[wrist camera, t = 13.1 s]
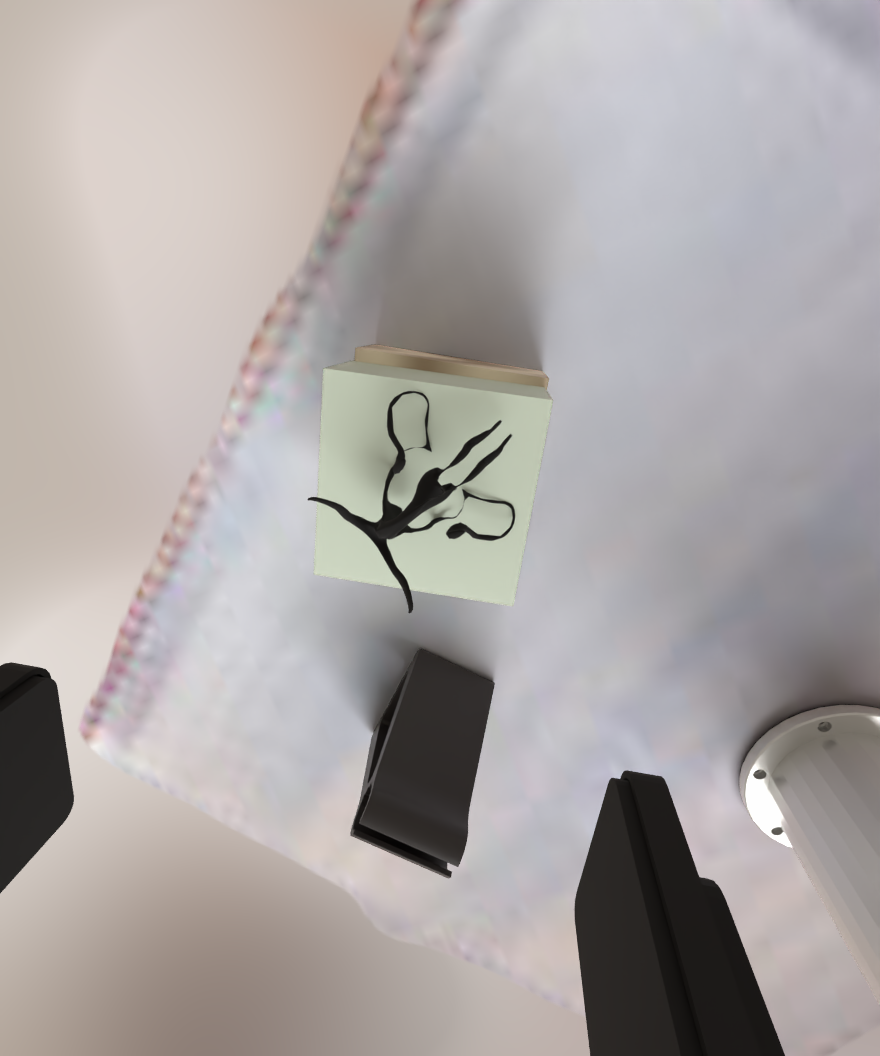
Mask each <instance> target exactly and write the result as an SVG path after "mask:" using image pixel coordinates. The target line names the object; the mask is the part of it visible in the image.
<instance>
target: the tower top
mask: <svg viewBox="0 0 880 1056" xmlns="http://www.w3.org/2000/svg"><path fill="white" fill-rule="evenodd" d="M406 391H417V392H420V393H423V394H424V395H425V396H426V397H427V398H428V400H429V417H428V428H427V432H428V437H429V442H430V447H431V450H432V452H430V451H428V450H426V449H424V448H417V447H423V446H425V445H426V430H425V417H426V412H427V408H428V404H427V401H426V400H425V398H424V397H423V396H421V395H419V394H416V393H411V394H405V395H402V396H401V398H400V399H399V400H398V401H397V402H396V403H395V405H394V406H393V407H392V413H393V428H394V433H395V435H396V437H397V439H398V441H399V442H400V444H401V446H402V447H403V449H404V450H407V449H409V448H412V449H410V450H407V451H404V452H405V460H406V463H405V466H404V468H403V470H401V471H400V473H398V474H394V477H393V478H392V480H391V482H390V485H389V488H388V500H389V502H390V503H392V504H395V505H397V506H399V507H400V508H402V511H404V510H405V508H406V507H407V506H408V505H409V503H410V502H411V501H412V499H413V497H414V495H415V493H416V489H417V485H418V483H419V481H420V479H421V477H422V476H423V475H424V474H425V473H426V472H427V471H429V470H431V469H433V468H436V467H439V468H440V469H445V468H446V467H447V466H449V465H450V463H451V462H452V461H453V460H454V459H455V457H456V456H457V455H458V453H459V452H460V451H461V450H462V448H463V446H464V444H465V443H466V442H467V441H468V440H470V439H471V438H473V437H475V436H477V435H479V434H481V433H482V432H484V431H486V430H490V429H491V428H492V427H493V426H494V424H495V423H497V422H498V421H499V420H501V421H502V422H501V424H500V425H499V426H498V427H497V428H496V429H495V430H494V431H493V432H492V433H491V434H490V435H489V436H488V437H486V438H485V439H484V440H483V441H481V442H480V443H479V444H477V445H476V446H474V447H473V448H472V449H471V451H470V453H469V454H468V455H467V456H466V457H465V458H464V459H463V460H462V461H461V462H459V463H458V464H457V465H455V466H453V467H451V468H449V469H447V470H445V471H444V472H443V473H442V474H441V475H440V476H439V479H438V482H439V483H440V484H441V485H445V484H448V483H452V484H453V485H455V486H457V485H459V484H460V483H462V482H463V481H464V479H465V478H466V477H467V476H468V475H469V474H470V473H471V471H472V470H473V469H474V468H475V467H476V465H477V464H478V462H479V461H481V460H482V459H483V458H484V457H486V456H487V455H488V454H490V453H491V452H493V451H494V450H496V449H497V448H498V447H499V446H500V445H501V443H502V442H503V441H504V440H505V439H506V438H507V437H508V436H509V435H510V434H511V435H512V437H511V438H510V440H509V441H508V442H507V444H506V445H505V446H504V448H503V450H502V452H501V453H500V455H499V456H498V457H496V458H495V459H494V460H493V461H492V462H491V463H490V464H489V465H487V466H486V467H485V468H484V470H483V471H482V472H481V473H480V474H478V475H477V476H476V477H475V478H474V479H473V480H472V481H469V482H467V483H465V484H463V485H461V486H458V487H457V489H456V490H454V491H453V492H452V493H451V494H450V496H449V497H448V498H447V499H446V500H444V501H443V502H442V503H440V504H438V505H436V506H434V507H432V508H430V509H428V510H427V511H425V512H423V513H422V514H420V515H419V516H418V517H417V518H415V519H414V520H413V521H412V522H410V523H409V524H408V526H410V527H411V528H421V527H424V526H426V525H428V524H429V523H430V522H431V520H433V519H435V518H439V517H455V516H457V515H458V513H459V512H460V510H461V509H462V508H463V509H462V511H461V512H460V514H459V515H458V516H457V517H456V518H454V519H445V520H442V521H440V522H438V523H436V524H434V525H433V526H432V528H430V529H428V530H424V531H420V532H413V533H403V534H401V535H399V536H397V537H396V538H393V539H390V540H388V539H387V545H388V548H389V550H390V552H391V555H392V557H393V560H394V562H395V564H396V566H397V568H398V569H399V570H400V571H401V572H402V574H403V575H404V576H405V578H406V580H407V582H408V585H409V588H410V590H413V591H419V592H426V593H432V594H438V595H444V596H451V597H457V598H463V599H469V600H476V601H482V602H488V603H494V604H501V605H507V606H513V605H514V600H515V595H516V589H517V584H518V579H519V574H520V569H521V564H522V559H523V553H524V548H525V543H526V538H527V533H528V528H529V522H530V517H531V512H532V507H533V502H534V497H535V492H536V486H537V481H538V476H539V471H540V466H541V461H542V455H543V450H544V445H545V440H546V435H547V430H548V424H549V419H550V414H551V409H552V404H553V399H552V398H551V396H550V395H549V393H548V392H547V390H546V388H545V387H539V386H532V385H525V384H517V383H510V382H503V381H496V380H489V379H481V378H474V377H467V376H460V375H452V374H445V373H438V372H431V371H423V370H416V369H409V368H402V367H394V366H387V365H380V364H373V363H366V362H358V361H349V362H345V363H341V364H337V365H334V366H330V367H326V368H323V385H322V406H321V428H320V449H319V471H318V493H317V497H318V498H322V499H326V500H330V501H333V502H336V503H338V504H340V505H342V506H344V507H345V508H346V509H347V510H348V511H349V512H350V513H352V514H354V515H357V516H360V517H362V518H364V519H366V520H368V521H371V522H377V521H379V520H380V519H381V518H382V515H383V511H382V500H383V493H384V488H385V481H386V479H387V476H388V473H389V471H390V469H391V467H393V465H394V463H395V462H396V457H397V454H398V451H397V449H396V447H395V446H394V444H393V442H392V441H391V439H390V437H389V436H388V430H387V411H388V408H389V404H390V402H391V401H392V400H393V399H394V397H396V396H397V395H399V394H401V393H403V392H406ZM413 447H415V448H413ZM462 489H464V490H465V491H467V492H468V493H470V494H472V495H475V496H477V497H479V498H482V499H489V500H497V501H506V502H508V503H510V504H512V505H513V507H514V509H515V522H514V525H513V528H512V529H511V530H510V532H509V533H508V534H507V535H506V536H504V537H503V538H500V539H498V540H494V541H487V540H479V539H474V538H472V537H471V536H470V535H469V534H468V533H467V532H465V533H464V534H463V535H462V536H460V537H459V538H456V539H449V538H448V537H447V535H446V532H447V530H448V529H449V528H450V527H451V526H452V525H454V524H456V523H460V522H461V523H463V524H465V525H467V526H468V527H469V528H471V529H472V530H473V531H474V532H476V533H477V534H484V535H494V536H501V535H502V534H503V533H504V532H505V531H506V530H507V529H508V528H509V527H510V526H511V522H512V519H513V517H512V510H511V508H510V507H509V506H507V505H506V504H496V503H489V502H486V501H482V500H478V499H475V498H471V497H468V498H467V499H466V500H465V501H464V495H463V491H462ZM463 505H464V506H463ZM314 575H319V576H325V577H332V578H338V579H344V580H351V581H357V582H363V583H369V584H376V585H382V586H388V587H394V588H401V589H402V587H401V585H400V584H399V582H398V581H397V579H396V578H395V576H394V575H393V574H392V572H391V571H390V569H389V567H388V565H387V564H386V562H385V560H384V558H383V556H382V555H381V553H380V551H379V550H378V548H377V547H376V545H375V544H374V543H373V541H372V540H371V539H370V538H369V537H368V536H367V535H366V534H365V533H364V532H363V531H361V530H360V529H359V528H357V527H356V526H354V525H353V524H351V523H350V522H348V521H346V520H345V519H343V517H342V516H341V515H340V514H339V513H338V512H337V511H336V510H335V509H333V508H331V507H329V506H327V505H325V504H322V503H320V502H317V514H316V536H315V557H314Z"/></svg>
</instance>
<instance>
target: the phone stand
mask: <svg viewBox="0 0 880 1056" xmlns="http://www.w3.org/2000/svg"><path fill="white" fill-rule="evenodd" d="M494 684H495V683H494V682H492V681H490V680H487V679H485V678H483V677H481V676H479V675H477V674H474V673H472V672H470V671H468V670H466V669H464V668H461V667H459V666H457V665H455V664H453V663H451V662H449V661H446V660H444V659H442V658H440V657H438V656H436V655H433V654H431V653H429V652H427V651H425V650H423V649H420V648H419V650H418V651H417V653H416V655H415V657H414V659H413V661H412V663H411V664H410V666H409V668H408V670H407V672H406V674H405V675H404V677H403V679H402V681H401V683H400V685H399V687H398V688H397V690H396V693H395V694H394V696H393V698H392V699H391V701H390V703H389V705H388V707H387V709H386V711H385V712H384V714H383V716H382V718H381V720H380V722H379V723H378V725H377V727H376V729H375V731H374V733H373V735H372V738H371V744H370V749H369V755H368V760H367V765H366V771H365V776H364V781H363V787H362V792H361V797H360V802H359V806H358V809H357V812H356V816H355V819H354V822H353V825H352V829H351V836H353V837H355V838H357V839H360V840H362V841H364V842H366V843H369V844H371V845H373V846H376V847H378V848H380V849H382V850H385V851H387V852H389V853H392V854H394V855H396V856H398V857H401V858H403V859H405V860H407V861H410V862H412V863H414V864H417V865H419V866H421V867H423V868H426V869H428V870H430V871H433V872H435V873H437V874H439V875H442V876H444V877H446V878H450V877H451V874H452V872H451V871H449V870H447V862H448V863H450V864H452V865H455V866H457V867H458V866H459V864H460V862H461V859H462V856H463V853H464V850H465V846H466V842H467V836H468V814H469V807H470V802H471V797H472V792H473V787H474V782H475V777H476V773H477V768H478V763H479V758H480V753H481V748H482V743H483V738H484V733H485V729H486V724H487V719H488V714H489V709H490V704H491V699H492V694H493V689H494Z"/></svg>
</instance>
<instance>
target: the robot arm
mask: <svg viewBox="0 0 880 1056" xmlns="http://www.w3.org/2000/svg"><path fill="white" fill-rule="evenodd" d="M739 785H740V794H741V797H742V800H743V803H744V805H745V807H746V809H747V811H748V813H749V815H750V817H751V819H752V820H753V821H754V823H755V824H756V825H757V826H758V827H759V829H760V830H762V831H763V832H764V833H765V834H766V835H767V836H769V837H770V838H772V839H774V840H776V841H778V842H780V843H781V844H783V845H786V846H789V847H792V848H793V850H794V851H795V853H796V855H797V857H798V859H799V860H800V862H801V864H802V866H803V868H804V869H805V871H806V873H807V875H808V877H809V879H810V880H811V882H812V884H813V886H814V888H815V889H816V891H817V893H818V895H819V897H820V898H821V900H822V902H823V904H824V906H825V908H826V909H827V911H828V913H829V915H830V917H831V918H832V920H833V922H834V924H835V926H836V927H837V929H838V931H839V933H840V935H841V937H842V938H843V940H844V942H845V944H846V946H847V947H848V949H849V951H850V953H851V955H852V956H853V958H854V960H855V962H856V964H857V966H858V967H859V969H860V971H861V973H862V975H863V976H864V978H865V980H866V982H867V984H868V986H869V987H870V989H871V991H872V993H873V995H874V996H875V998H876V1000H877V1002H878V1004H879V1005H880V709H878V708H873V707H867V706H861V705H836V706H828V707H821V708H817V709H813V710H810V711H806V712H803V713H800V714H798V715H796V716H793V717H791V718H789V719H787V720H784V721H783V722H781V723H780V724H778V725H777V726H775V727H774V728H772V729H770V730H769V731H768V732H767V733H766V734H765V735H764V736H762V737H761V738H760V739H759V740H758V741H757V742H756V743H755V745H754V746H753V747H752V749H751V750H750V751H749V753H748V754H747V757H746V759H745V761H744V763H743V765H742V768H741V773H740V778H739ZM73 802H74V795H73V788H72V781H71V775H70V768H69V762H68V755H67V748H66V742H65V736H64V729H63V722H62V715H61V709H60V703H59V695H58V689H57V685H56V682H55V681H54V680H52V679H51V676H50V673H49V672H48V671H47V670H46V669H43V668H39V667H34V666H28V665H22V664H17V663H6V664H3V665H1V666H0V893H1V892H2V891H3V890H4V889H5V888H6V886H7V885H8V884H9V883H10V882H11V881H12V879H14V877H15V876H16V875H17V874H18V873H19V872H20V871H21V870H22V868H23V867H24V866H25V865H26V864H27V863H28V862H29V860H30V859H31V858H32V857H33V856H34V855H35V854H36V853H37V852H38V851H39V849H40V848H41V847H42V846H43V845H44V844H45V843H46V841H47V840H48V839H49V838H50V837H51V836H52V835H53V834H54V833H55V832H56V830H57V829H58V828H59V827H60V826H61V825H62V824H63V823H64V821H65V820H66V819H67V817H68V815H69V813H70V812H71V809H72V806H73ZM575 925H576V934H577V942H578V951H579V960H580V969H581V977H582V986H583V995H584V1004H585V1013H586V1020H587V1030H588V1039H589V1047H590V1056H785V1054H784V1052H783V1049H782V1046H781V1044H780V1041H779V1039H778V1036H777V1033H776V1031H775V1028H774V1025H773V1023H772V1020H771V1018H770V1015H769V1012H768V1010H767V1007H766V1004H765V1002H764V999H763V997H762V994H761V991H760V989H759V986H758V983H757V981H756V978H755V976H754V973H753V970H752V968H751V965H750V962H749V960H748V957H747V955H746V952H745V949H744V947H743V944H742V941H741V939H740V936H739V934H738V931H737V928H736V926H735V923H734V920H733V918H732V915H731V913H730V910H729V907H728V905H727V902H726V900H725V897H724V895H723V893H722V891H721V889H720V888H719V886H718V885H717V884H716V883H715V882H714V881H713V880H710V879H706V878H701V877H699V875H698V872H697V870H696V867H695V864H694V861H693V858H692V855H691V852H690V850H689V847H688V844H687V841H686V838H685V835H684V832H683V829H682V827H681V824H680V821H679V818H678V815H677V812H676V809H675V806H674V804H673V801H672V798H671V795H670V792H669V789H668V786H667V784H666V782H665V780H664V779H663V778H662V777H661V776H655V775H650V774H644V773H638V772H632V771H624V772H623V773H622V776H621V778H620V779H616V778H611V779H610V781H609V783H608V786H607V790H606V793H605V797H604V800H603V804H602V807H601V810H600V814H599V817H598V821H597V824H596V828H595V831H594V835H593V838H592V841H591V845H590V848H589V852H588V855H587V859H586V862H585V866H584V869H583V873H582V876H581V879H580V883H579V886H578V890H577V894H576V899H575Z"/></svg>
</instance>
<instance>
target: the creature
mask: <svg viewBox="0 0 880 1056" xmlns="http://www.w3.org/2000/svg"><path fill="white" fill-rule="evenodd" d="M411 393H416V394H419V395H421V396H423V397H424V398H425V400H426V401H427V404H428V408H427V412H426V417H425V430H426V445H425V446H423V447H417V448H424V449H426V450H428V451H430V452H432V450H431V447H430V442H429V437H428V432H427V428H428V417H429V400H428V398H427V397H426V396H425V395H424V394H423V393H420V392H417V391H406V392H403V393H401V394H399V395H397V396H396V397H394V399H393V400H392V401H391V402H390V404H389V408H388V411H387V430H388V436H389V437H390V439H391V441H392V442H393V444H394V446H395V447H396V449H397V451H398V454H397V457H396V462H395V463H394V465H393V467H391V469H390V471H389V473H388V476H387V479H386V481H385V488H384V493H383V500H382V511H383V515H382V518H381V519H380V520H379V521H377V522H371V521H368V520H366V519H364V518H362V517H360V516H357V515H354V514H352V513H350V512H349V511H348V510H347V509H346V508H345V507H344V506H342V505H340V504H338V503H336V502H333V501H330V500H326V499H322V498H318V497H310V498H308V500H312V501H317V502H320V503H322V504H325V505H327V506H329V507H331V508H333V509H335V510H336V511H337V512H338V513H339V514H340V515H341V516H342V517H343V519H345V520H346V521H348V522H350V523H351V524H353V525H354V526H356V527H357V528H359V529H360V530H361V531H363V532H364V533H365V534H366V535H367V536H368V537H369V538H370V539H371V540H372V541H373V543H374V544H375V545H376V547H377V548H378V550H379V551H380V553H381V555H382V556H383V558H384V560H385V562H386V564H387V565H388V567H389V569H390V571H391V572H392V574H393V575H394V576H395V578H396V579H397V581H398V582H399V584H400V585H401V587H402V589H403V591H404V593H405V596H406V599H407V603H408V608H409V613H411V612H412V610H413V601H412V596H411V592H410V588H409V585H408V582H407V580H406V578H405V576H404V575H403V574H402V572H401V571H400V570H399V569H398V568H397V566H396V564H395V562H394V560H393V557H392V555H391V552H390V550H389V548H388V545H387V539H388V540H390V539H393V538H396V537H397V536H399V535H401V534H403V533H413V532H420V531H424V530H428V529H430V528H432V526H433V525H434V524H436V523H438V522H440V521H442V520H445V519H454V518H456V517H457V516H458V515H459V514H460V512H461V511H462V509H463V508H462V509H461V510H460V512H459V513H458V515H457V516H455V517H439V518H435V519H433V520H431V522H430V523H429V524H428V525H426V526H424V527H421V528H411V527H410V526H408V524H409V523H410V522H412V521H413V520H414V519H415V518H417V517H418V516H419V515H420V514H422V513H423V512H425V511H427V510H428V509H430V508H432V507H434V506H436V505H438V504H440V503H442V502H443V501H444V500H446V499H447V498H448V497H449V496H450V494H451V493H452V492H453V491H454V490H456V489H457V487H458V486H461V485H463V484H465V483H467V482H469V481H472V480H473V479H474V478H475V477H476V476H477V475H478V474H480V473H481V472H482V471H483V470H484V468H485V467H486V466H487V465H489V464H490V463H491V462H492V461H493V460H494V459H495V458H496V457H498V456H499V455H500V453H501V452H502V450H503V448H504V446H505V445H506V444H507V442H508V441H509V440H510V438H511V437H512V435H511V434H510V435H509V436H508V437H507V438H506V439H505V440H504V441H503V442H502V443H501V445H500V446H499V447H498V448H497V449H496V450H494V451H493V452H491V453H490V454H488V455H487V456H486V457H484V458H483V459H482V460H481V461H479V462H478V464H477V465H476V467H475V468H474V469H473V470H472V471H471V473H470V474H469V475H468V476H467V477H466V478H465V479H464V481H463V482H462V483H460V484H459V485H457V486H455V485H453V484H452V483H448V484H445V485H441V484H440V483H439V482H438V479H439V476H440V475H441V474H442V473H443V472H444V471H445V470H447V469H449V468H451V467H453V466H455V465H457V464H458V463H459V462H461V461H462V460H463V459H464V458H465V457H466V456H467V455H468V454H469V453H470V451H471V449H472V448H473V447H474V446H476V445H477V444H479V443H480V442H481V441H483V440H484V439H485V438H486V437H488V436H489V435H490V434H491V433H492V432H493V431H494V430H495V429H496V428H497V427H498V426H499V425H500V424H501V422H502V421H501V420H499V421H498V422H497V423H495V424H494V426H493V427H492V428H491V429H490V430H486V431H484V432H482V433H481V434H479V435H477V436H475V437H473V438H471V439H470V440H468V441H467V442H466V443H465V444H464V446H463V448H462V450H461V451H460V452H459V453H458V455H457V456H456V457H455V459H454V460H453V461H452V462H451V463H450V465H449V466H447V467H446V468H445V469H440V468H439V467H436V468H433V469H431V470H429V471H427V472H426V473H425V474H424V475H423V476H422V477H421V479H420V481H419V483H418V485H417V489H416V493H415V495H414V497H413V499H412V501H411V502H410V503H409V505H408V506H407V507H406V508H405V510H404V511H402V508H400V507H399V506H397V505H395V504H392V503H390V502H389V500H388V488H389V485H390V482H391V480H392V478H393V477H394V474H398V473H400V471H401V470H403V468H404V466H405V463H406V460H405V452H404V451H407V450H410V449H412V448H409V449H407V450H404V449H403V447H402V446H401V444H400V442H399V441H398V439H397V437H396V435H395V433H394V428H393V413H392V407H393V406H394V405H395V403H396V402H397V401H398V400H399V399H400V398H401V396H402V395H405V394H411ZM413 448H415V447H413ZM462 491H463V495H464V501H465V500H466V499H467V498H468V497H471V498H475V499H478V500H482V501H486V502H489V503H496V504H506V505H507V506H509V507H510V508H511V510H512V517H513V519H512V522H511V526H510V527H509V528H508V529H507V530H506V531H505V532H504V533H503V534H502V535H501V536H494V535H484V534H477V533H476V532H474V531H473V530H472V529H471V528H469V527H468V526H467V525H465V524H463V523H461V522H460V523H456V524H454V525H452V526H451V527H450V528H449V529H448V530H447V532H446V535H447V537H448V538H449V539H456V538H459V537H460V536H462V535H463V534H464V533H465V532H467V533H468V534H469V535H470V536H471V537H472V538H474V539H479V540H487V541H494V540H498V539H500V538H503V537H504V536H506V535H507V534H508V533H509V532H510V530H511V529H512V528H513V525H514V522H515V509H514V507H513V505H512V504H510V503H508V502H506V501H497V500H489V499H482V498H479V497H477V496H475V495H472V494H470V493H468V492H467V491H465V490H464V489H462ZM463 506H464V505H463Z"/></svg>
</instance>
